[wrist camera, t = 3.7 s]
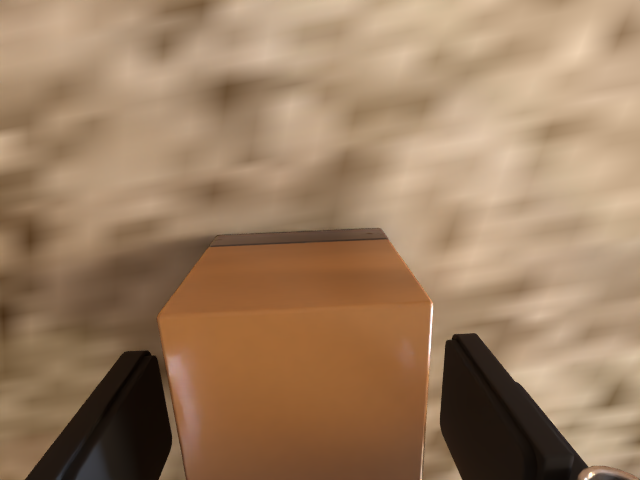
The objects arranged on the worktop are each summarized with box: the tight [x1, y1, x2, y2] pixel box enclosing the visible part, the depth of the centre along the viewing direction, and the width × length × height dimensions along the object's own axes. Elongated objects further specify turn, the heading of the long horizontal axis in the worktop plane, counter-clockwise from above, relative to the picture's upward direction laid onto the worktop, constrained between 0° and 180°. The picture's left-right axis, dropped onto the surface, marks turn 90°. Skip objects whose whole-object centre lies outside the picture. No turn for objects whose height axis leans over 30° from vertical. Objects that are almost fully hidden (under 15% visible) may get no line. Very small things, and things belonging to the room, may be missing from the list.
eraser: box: [157, 228, 433, 480], centre depth 9 cm, size 8×4×4 cm, turn 2°
